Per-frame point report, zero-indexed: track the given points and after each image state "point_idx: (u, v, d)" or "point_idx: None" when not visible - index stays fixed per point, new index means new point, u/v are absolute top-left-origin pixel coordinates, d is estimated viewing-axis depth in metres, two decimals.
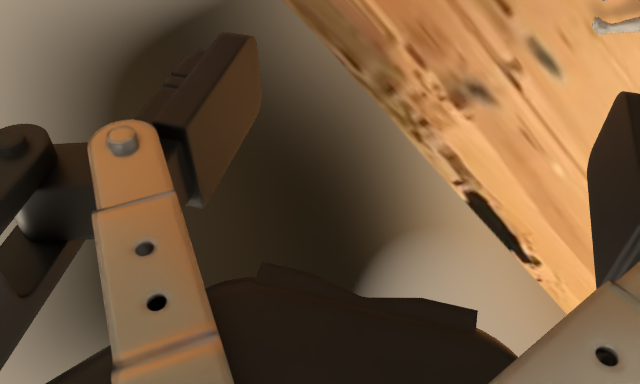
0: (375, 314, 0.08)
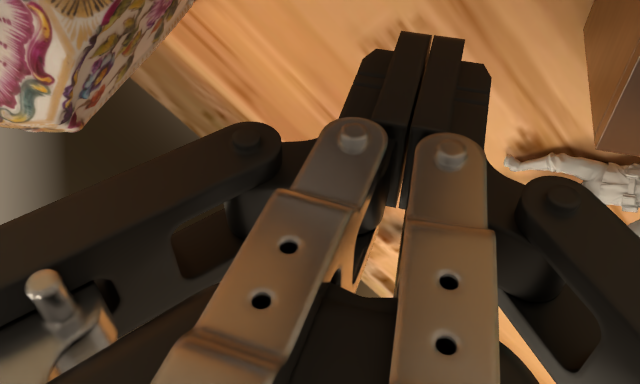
0: (375, 314, 0.08)
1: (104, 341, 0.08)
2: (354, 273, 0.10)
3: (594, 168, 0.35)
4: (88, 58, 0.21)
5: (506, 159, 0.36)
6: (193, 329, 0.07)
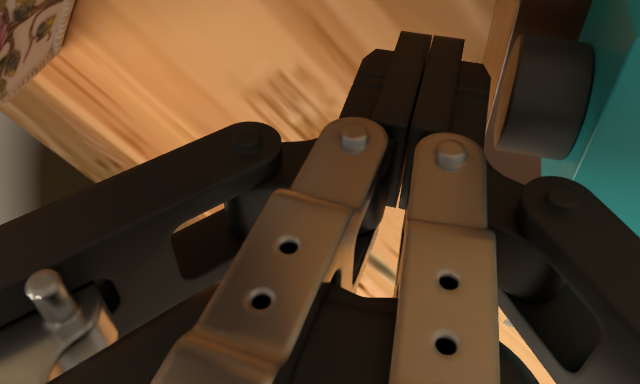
0: (375, 314, 0.08)
1: (104, 341, 0.08)
2: (354, 273, 0.10)
3: None
4: None
5: None
6: (193, 329, 0.07)
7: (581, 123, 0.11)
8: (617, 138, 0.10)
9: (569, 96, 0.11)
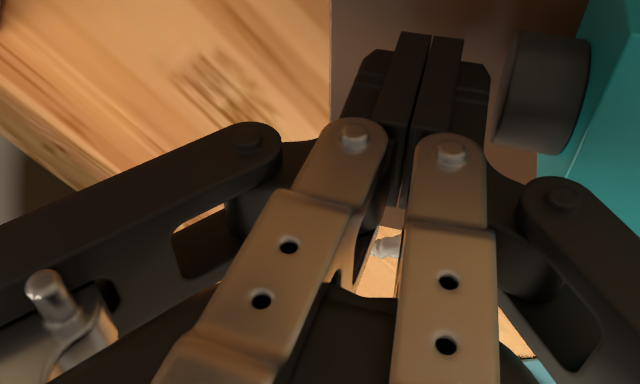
0: (375, 314, 0.08)
1: (104, 341, 0.08)
2: (354, 273, 0.10)
3: None
4: None
5: None
6: (193, 329, 0.07)
7: (576, 119, 0.11)
8: (611, 133, 0.10)
9: (565, 91, 0.11)
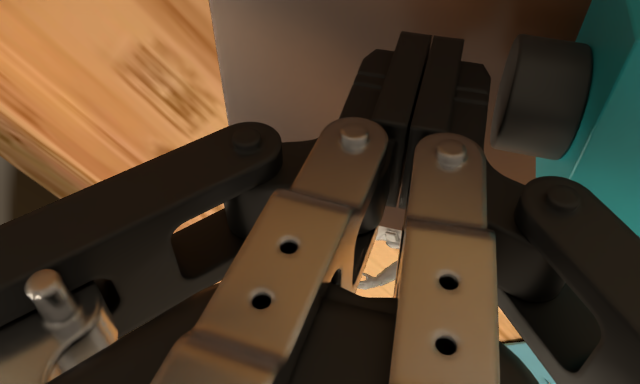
0: (374, 314, 0.08)
1: (104, 341, 0.08)
2: (354, 273, 0.10)
3: None
4: None
5: None
6: (193, 329, 0.07)
7: (578, 124, 0.11)
8: (615, 139, 0.10)
9: (567, 96, 0.11)
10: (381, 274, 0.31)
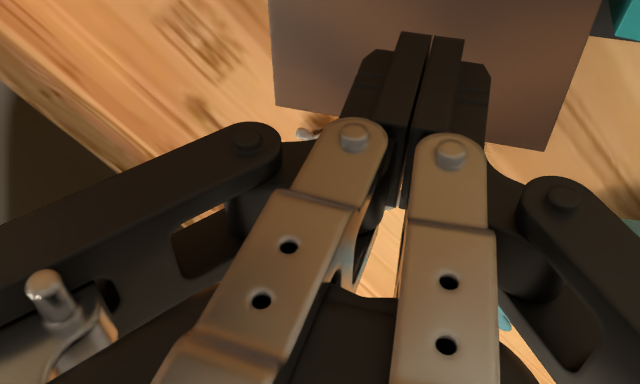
0: (375, 314, 0.08)
1: (104, 341, 0.08)
2: (354, 273, 0.10)
3: None
4: None
5: (297, 131, 0.38)
6: (193, 329, 0.07)
7: None
8: None
9: None
10: None
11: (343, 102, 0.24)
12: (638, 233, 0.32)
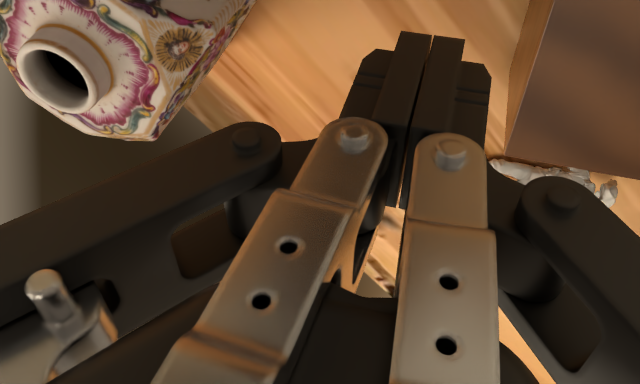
0: (375, 314, 0.08)
1: (104, 341, 0.08)
2: (354, 273, 0.10)
3: (524, 170, 0.47)
4: (174, 94, 0.33)
5: None
6: (193, 329, 0.07)
7: None
8: None
9: None
10: None
11: (560, 155, 0.34)
12: None
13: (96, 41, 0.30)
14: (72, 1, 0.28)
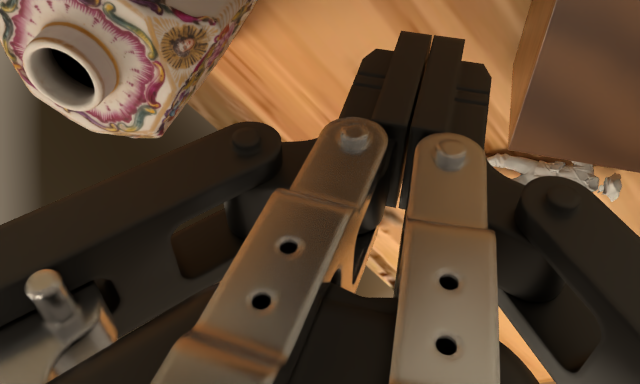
0: (375, 314, 0.08)
1: (104, 341, 0.08)
2: (354, 273, 0.10)
3: (528, 164, 0.47)
4: (180, 91, 0.33)
5: None
6: (193, 329, 0.07)
7: None
8: None
9: None
10: None
11: (565, 149, 0.34)
12: None
13: (102, 39, 0.30)
14: None
